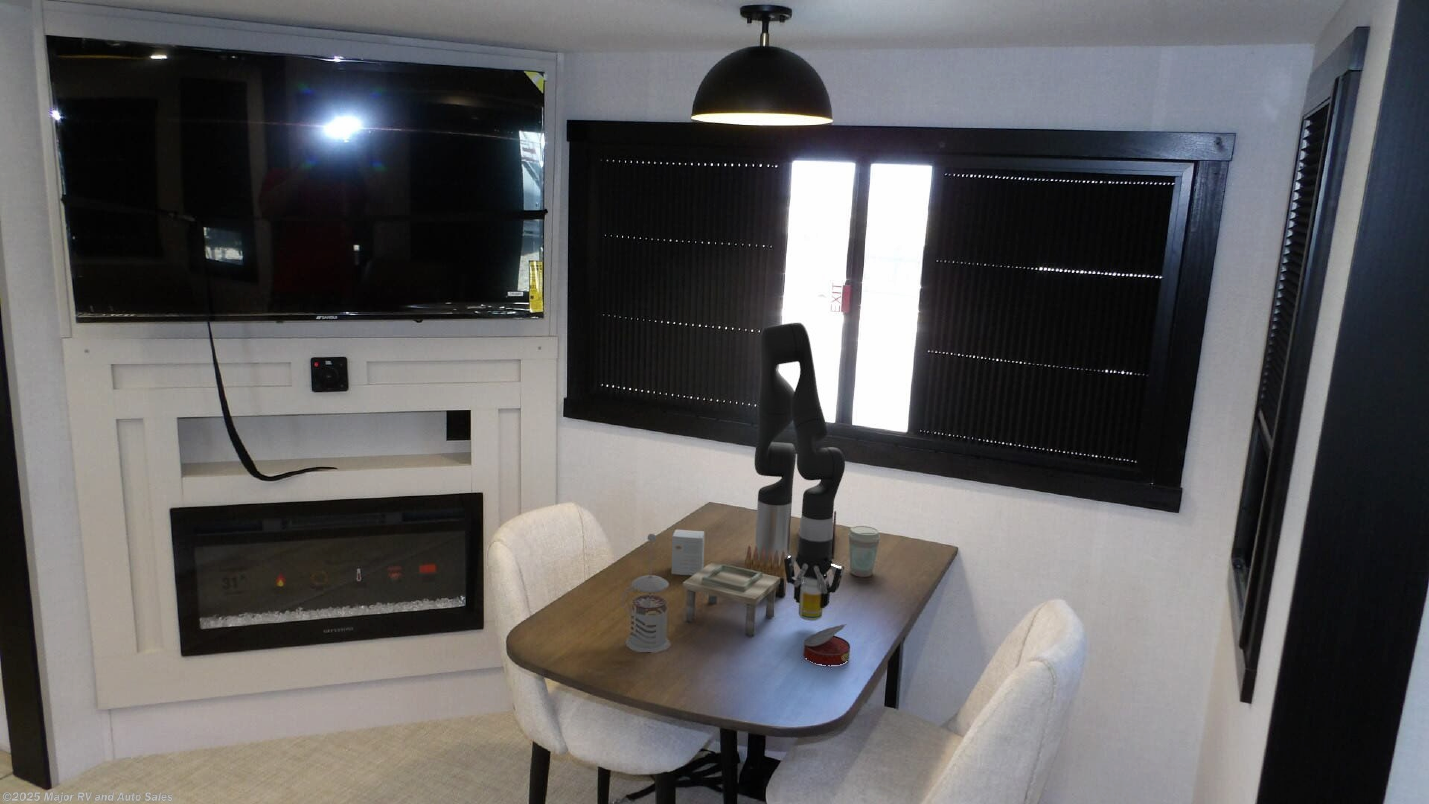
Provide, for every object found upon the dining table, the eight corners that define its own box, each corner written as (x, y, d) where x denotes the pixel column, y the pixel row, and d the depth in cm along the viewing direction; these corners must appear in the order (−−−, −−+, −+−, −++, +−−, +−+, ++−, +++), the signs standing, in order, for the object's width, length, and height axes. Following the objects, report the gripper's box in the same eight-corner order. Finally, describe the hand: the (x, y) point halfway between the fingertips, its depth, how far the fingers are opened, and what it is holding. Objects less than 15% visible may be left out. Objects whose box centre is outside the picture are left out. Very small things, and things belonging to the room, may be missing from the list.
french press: (653, 657, 204) (657, 545, 199) (609, 642, 210) (612, 533, 205) (679, 641, 212) (683, 532, 207) (636, 627, 218) (640, 521, 213)
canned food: (823, 688, 204) (809, 654, 200) (801, 662, 213) (787, 629, 208) (867, 659, 207) (854, 625, 202) (843, 635, 215) (830, 602, 211)
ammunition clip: (785, 595, 240) (788, 550, 238) (783, 598, 238) (786, 552, 236) (744, 588, 243) (746, 543, 241) (742, 591, 241) (744, 546, 239)
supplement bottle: (794, 613, 222) (796, 574, 220) (814, 609, 225) (816, 571, 223) (806, 622, 218) (809, 582, 216) (826, 619, 220) (829, 579, 218)
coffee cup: (841, 575, 255) (844, 532, 253) (849, 565, 263) (852, 523, 261) (873, 581, 252) (876, 537, 250) (880, 570, 260) (884, 528, 258)
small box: (703, 569, 255) (705, 531, 253) (701, 576, 250) (703, 538, 248) (673, 566, 256) (675, 528, 254) (670, 574, 251) (672, 535, 248)
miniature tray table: (709, 599, 236) (711, 557, 233) (777, 615, 228) (780, 572, 226) (681, 621, 222) (683, 577, 220) (752, 639, 215) (755, 594, 213)
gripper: (851, 535, 217) (846, 605, 221) (792, 523, 223) (787, 592, 227) (841, 545, 211) (835, 617, 214) (780, 533, 216) (775, 603, 220)
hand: (810, 604), depth 220 cm, fingers closed on supplement bottle, 5 cm apart
